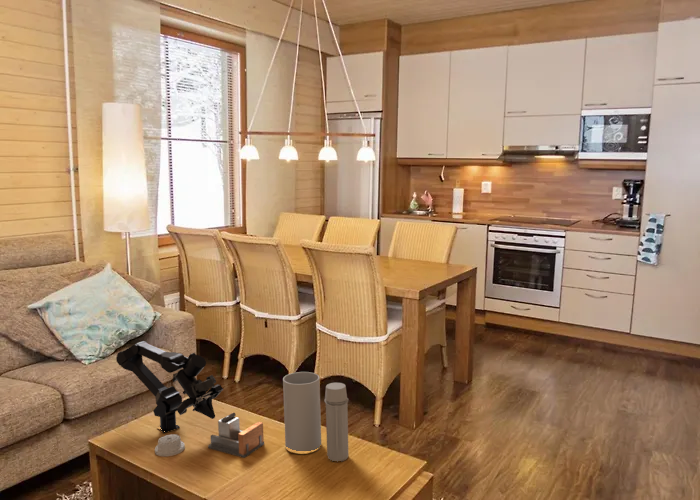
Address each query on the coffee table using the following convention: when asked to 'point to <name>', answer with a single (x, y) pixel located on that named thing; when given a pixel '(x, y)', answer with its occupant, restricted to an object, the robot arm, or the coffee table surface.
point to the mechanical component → (169, 445)
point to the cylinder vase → (302, 411)
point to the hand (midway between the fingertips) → (214, 418)
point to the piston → (229, 427)
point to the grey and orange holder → (240, 441)
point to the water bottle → (336, 421)
